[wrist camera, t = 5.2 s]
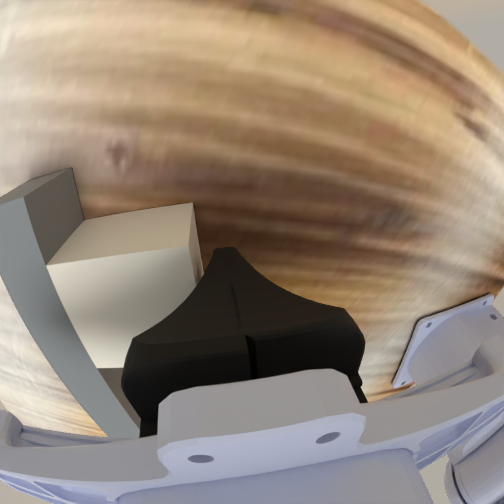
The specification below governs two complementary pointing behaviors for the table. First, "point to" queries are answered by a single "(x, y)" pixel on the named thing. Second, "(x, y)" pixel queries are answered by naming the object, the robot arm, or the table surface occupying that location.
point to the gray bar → (56, 295)
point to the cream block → (126, 276)
